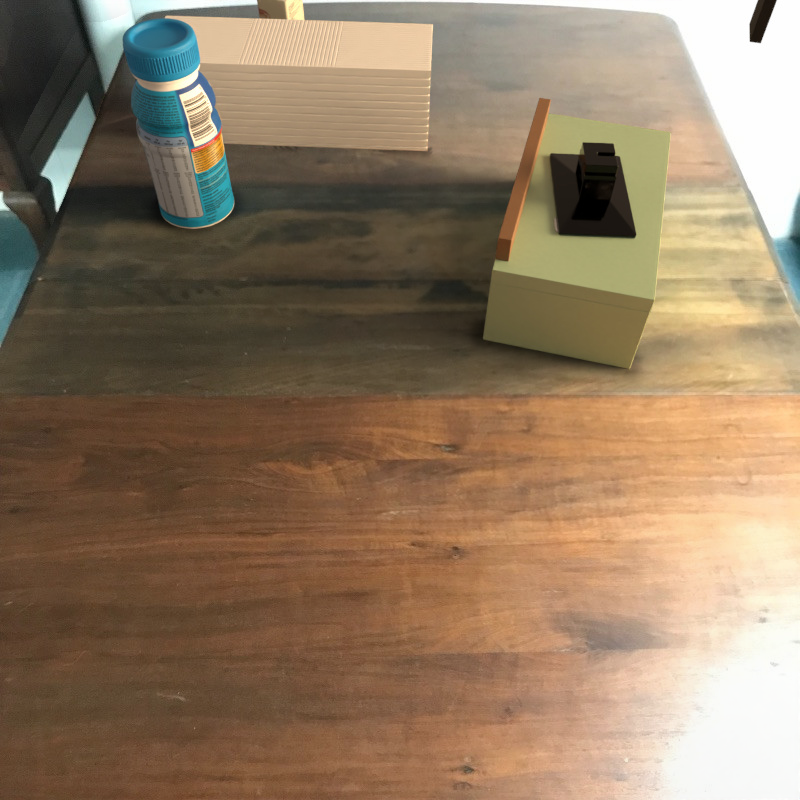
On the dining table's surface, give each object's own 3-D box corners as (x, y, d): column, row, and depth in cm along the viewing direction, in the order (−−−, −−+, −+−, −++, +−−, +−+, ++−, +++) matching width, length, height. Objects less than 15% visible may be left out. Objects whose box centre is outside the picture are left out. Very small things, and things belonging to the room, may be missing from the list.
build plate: (635, 240, 72) (648, 198, 68) (555, 236, 72) (563, 194, 68) (619, 158, 79) (630, 116, 76) (546, 155, 80) (553, 114, 76)
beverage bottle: (160, 238, 86) (110, 60, 70) (159, 191, 91) (111, 16, 75) (239, 228, 87) (206, 52, 71) (233, 182, 92) (201, 8, 76)
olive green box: (647, 206, 90) (677, 110, 81) (628, 373, 74) (662, 278, 65) (526, 185, 92) (541, 90, 83) (482, 343, 76) (495, 248, 67)
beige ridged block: (429, 106, 102) (432, 23, 94) (427, 155, 96) (430, 70, 87) (184, 98, 103) (165, 15, 95) (164, 145, 96) (143, 60, 88)
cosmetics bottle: (280, 52, 111) (272, -23, 103) (309, 58, 110) (303, -17, 102) (264, 70, 108) (254, -6, 100) (293, 76, 107) (286, 0, 99)
